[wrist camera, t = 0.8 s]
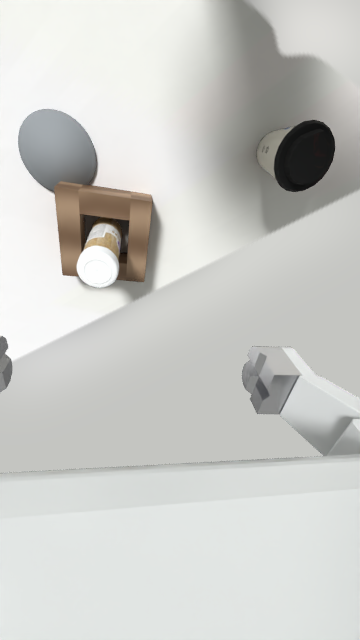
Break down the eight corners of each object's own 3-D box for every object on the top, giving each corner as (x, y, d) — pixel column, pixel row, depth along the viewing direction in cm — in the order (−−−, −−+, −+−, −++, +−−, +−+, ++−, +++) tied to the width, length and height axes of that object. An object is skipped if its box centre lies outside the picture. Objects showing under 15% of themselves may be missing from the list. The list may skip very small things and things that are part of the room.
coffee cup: (269, 189, 39) (303, 207, 32) (237, 156, 36) (266, 167, 28) (306, 145, 37) (354, 152, 29) (276, 105, 33) (320, 101, 26)
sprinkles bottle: (127, 240, 41) (124, 283, 31) (99, 249, 41) (87, 294, 31) (115, 211, 38) (108, 246, 28) (85, 220, 39) (67, 259, 28)
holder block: (61, 180, 35) (54, 186, 32) (150, 194, 38) (152, 201, 34) (68, 263, 42) (62, 275, 39) (143, 270, 45) (144, 282, 41)
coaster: (12, 100, 30) (11, 100, 29) (95, 118, 32) (95, 118, 31) (26, 187, 35) (25, 187, 35) (96, 197, 37) (96, 198, 37)
